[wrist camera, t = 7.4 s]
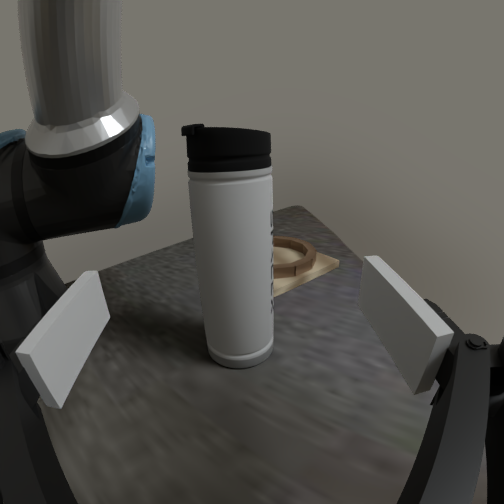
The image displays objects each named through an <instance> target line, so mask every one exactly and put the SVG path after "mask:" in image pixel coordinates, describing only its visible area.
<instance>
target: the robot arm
mask: <svg viewBox="0 0 504 504" xmlns="http://www.w3.org/2000/svg"><path fill="white" fill-rule="evenodd" d="M121 12H122V0H18V16H19V17H18V18H19V30H20V40H21V49H22V56H23V63H24V69H25V75H26V81H27V86H28V91H29V96H30V100H31V105H32V108H33V113H34V119H33V120H32V122H31V124H30V125H29V127H28V129H27V131H25V130H22V129H15V130H9V131H5V132H2V133H0V504H3V500H4V504H78V503H77V501H76V499H75V497H74V495H73V493H72V491H71V489H70V487H69V484H68V482H67V480H66V478H65V476H64V473H63V471H62V469H61V466H60V464H59V461H58V459H57V456H56V454H55V451H54V448H53V445H52V443H51V440H50V437H49V434H48V431H47V428H46V425H45V422H44V418H43V415H42V412H41V408H40V406H39V405H38V403H37V400H38V398H39V396H41V398H42V400H43V401H44V403H45V404H46V406H49V407H54V408H58V409H61V408H62V406H63V404H64V402H65V400H66V398H67V396H68V394H69V392H70V390H71V388H72V386H73V384H74V382H75V380H76V378H77V376H78V374H79V372H80V370H81V369H82V367H83V365H84V363H85V361H86V359H87V357H88V356H89V354H90V352H91V350H92V348H93V347H94V345H95V343H96V341H97V339H98V338H99V336H100V334H101V332H102V331H103V329H104V327H105V325H106V324H107V322H108V320H109V319H110V314H109V311H108V308H107V304H106V301H105V297H104V294H103V290H102V286H101V282H100V278H99V274H98V271H85V272H84V273H83V274H82V275H81V276H80V277H79V278H78V279H77V280H76V281H75V282H74V283H73V284H72V285H71V286H70V288H69V289H68V288H67V287H66V285H65V284H64V283H63V281H62V280H61V278H60V277H59V275H58V274H57V272H56V270H55V269H54V267H53V266H52V264H51V263H50V261H49V259H48V258H47V256H46V253H45V249H44V245H43V241H42V240H47V239H52V238H58V237H62V236H69V235H74V234H79V233H86V232H92V231H98V230H104V229H110V228H118V227H120V226H121V225H125V224H130V223H134V222H138V221H141V220H143V219H144V218H146V217H147V215H148V214H149V212H150V210H151V207H152V202H153V195H154V183H155V164H154V160H155V127H154V122H153V119H152V117H151V116H148V115H144V114H143V115H142V114H139V104H138V102H137V100H136V99H135V98H134V97H132V96H131V95H130V94H128V93H126V92H125V91H123V90H122V71H121V14H122V13H121ZM358 306H359V308H360V309H361V311H362V312H363V314H364V315H365V317H366V318H367V320H368V321H369V323H370V325H371V326H372V328H373V329H374V331H375V332H376V334H377V335H378V337H379V339H380V340H381V342H382V343H383V345H384V346H385V348H386V350H387V351H388V353H389V354H390V356H391V358H392V359H393V361H394V363H395V364H396V366H397V368H398V369H399V371H400V372H401V374H402V376H403V377H404V379H405V381H406V382H407V384H408V386H409V388H410V389H411V391H412V393H413V394H414V395H416V394H419V393H422V392H426V391H429V390H430V389H431V387H432V385H433V383H434V380H435V379H436V380H437V382H438V383H439V385H440V386H439V388H438V390H437V392H436V394H435V396H434V398H433V400H432V402H431V404H430V405H433V408H432V411H431V415H430V418H429V422H428V425H427V428H426V431H425V434H424V437H423V440H422V443H421V446H420V449H419V452H418V455H417V457H416V460H415V463H414V465H413V468H412V470H411V473H410V475H409V478H408V480H407V482H406V485H405V487H404V489H403V491H402V494H401V496H400V498H399V500H398V502H397V504H471V503H472V499H473V496H474V492H475V488H476V484H477V480H478V475H479V471H480V466H481V461H482V455H483V449H484V443H485V447H486V460H487V504H504V337H503V339H502V342H501V344H498V345H489V344H488V342H487V341H486V340H485V339H484V338H482V337H481V336H478V335H476V334H464V333H463V332H462V330H460V329H459V327H458V326H457V325H456V324H455V323H454V322H453V321H452V320H451V319H450V318H448V316H447V315H446V314H445V313H444V312H443V311H442V310H441V309H440V308H439V307H438V306H437V305H436V304H435V303H433V302H431V301H429V300H428V299H422V298H421V297H420V296H419V295H418V294H417V293H416V292H415V291H414V290H413V289H412V288H411V287H410V286H409V285H408V284H407V283H406V282H405V281H404V280H403V279H402V278H401V277H400V276H399V275H398V274H397V273H395V271H393V270H392V269H391V268H390V267H389V266H388V265H387V264H386V263H385V262H384V261H383V260H382V259H381V258H380V257H379V256H364V261H363V269H362V277H361V285H360V292H359V299H358ZM433 403H434V404H433Z"/></svg>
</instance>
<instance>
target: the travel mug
mask: <svg viewBox="0 0 504 504" xmlns="http://www.w3.org/2000/svg"><path fill="white" fill-rule="evenodd" d="M181 131H182V136H186V137H187V139H186V140H187V157H188V158H189V162H188V177H189V178H190V180H189V182H188V184H189V196H190V208H191V219H192V229H193V239H194V248H195V257H196V266H197V274H198V282H199V290H200V298H201V305H202V313H203V320H204V327H205V333H206V338H207V346H208V352H209V354H210V356H211V357H212V359H213V360H215V361H216V362H217V363H219V364H221V365H223V366H226V367H230V368H248V367H252V366H255V365H258V364H260V363H262V362H263V361H265V360H266V359H267V358H268V357H269V356H270V354H271V353H272V350H273V187H272V176H271V175H270V174H271V172H272V165H271V157H270V156H269V154H270V153H271V135H270V133H268V132H264V131H259V130H251V129H242V128H226V127H204V125H203V124H193V125H187V126H183V127H182V129H181Z"/></svg>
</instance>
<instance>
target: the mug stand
mask: <svg viewBox="0 0 504 504" xmlns="http://www.w3.org/2000/svg"><path fill="white" fill-rule="evenodd" d="M337 267H339V260H337V259H334V258H331V257H329V256H326V255H323V254H321V253H318V252H317V250H316V249H315V248H314V247H313V246H312V245H311V244H310V243H309V242H306V241H303V240H300V239H297V238H293V237H284V236H273V298H274V297H276V296H278V295H280V294H283V293H285V292H287V291H289V290H291V289H293V288H295V287H297V286H300V285H302V284H304V283H306V282H308V281H310V280H312V279H314V278H316V277H318V276H320V275H322V274H325V273H327V272H329V271H331V270H333V269H335V268H337Z"/></svg>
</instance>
